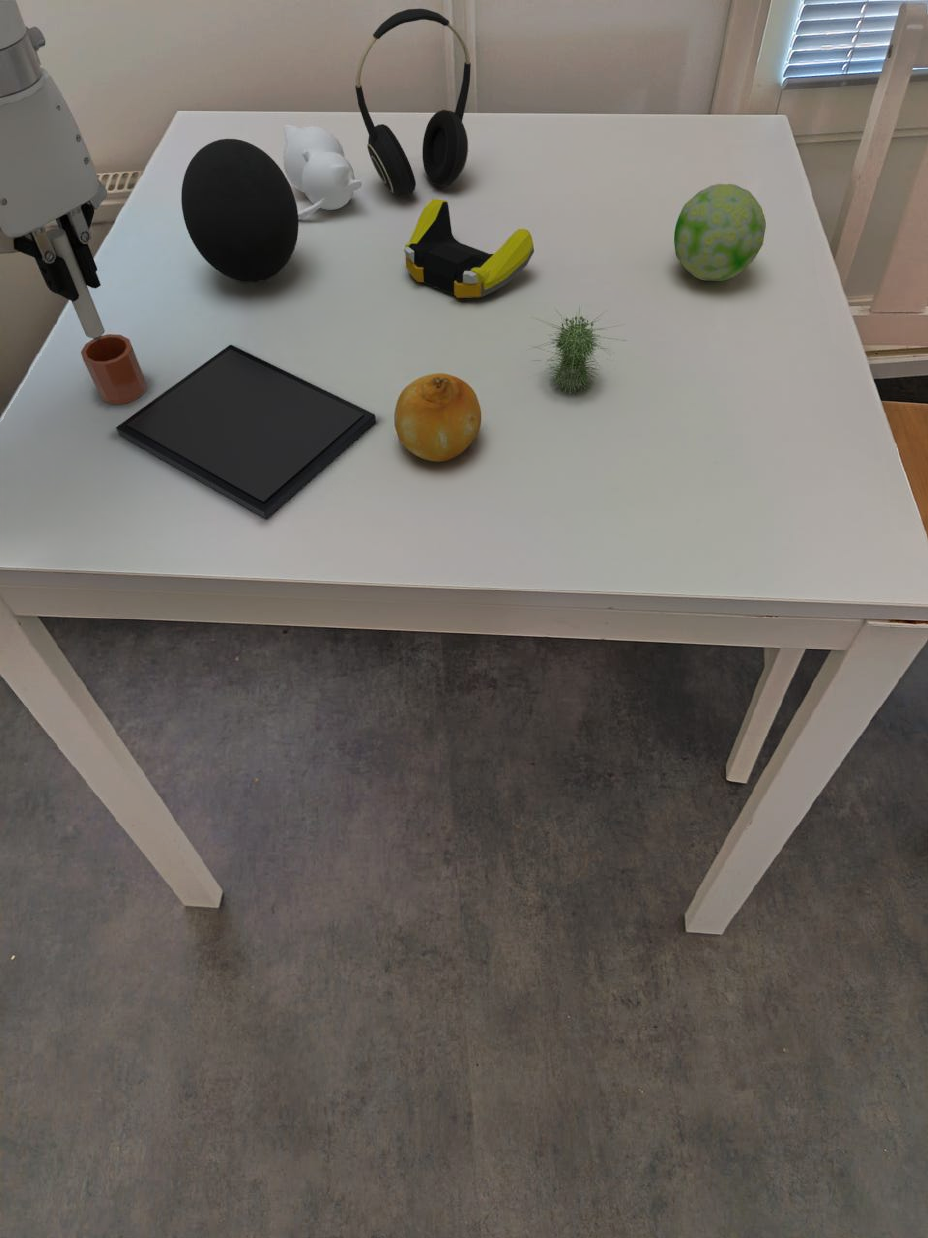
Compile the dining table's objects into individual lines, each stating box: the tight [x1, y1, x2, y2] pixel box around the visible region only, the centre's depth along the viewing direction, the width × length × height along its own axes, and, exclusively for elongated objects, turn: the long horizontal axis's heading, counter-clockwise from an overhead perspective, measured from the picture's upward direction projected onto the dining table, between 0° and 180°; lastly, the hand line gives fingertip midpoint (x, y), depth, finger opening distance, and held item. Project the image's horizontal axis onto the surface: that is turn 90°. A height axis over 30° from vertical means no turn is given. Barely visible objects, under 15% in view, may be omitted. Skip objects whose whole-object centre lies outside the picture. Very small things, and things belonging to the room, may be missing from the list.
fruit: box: [393, 372, 482, 462], centre depth 80 cm, size 8×8×8 cm
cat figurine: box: [282, 124, 363, 221], centre depth 107 cm, size 9×11×12 cm
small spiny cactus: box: [520, 307, 626, 395], centre depth 84 cm, size 12×12×8 cm
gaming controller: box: [403, 198, 535, 299], centre depth 97 cm, size 15×6×10 cm
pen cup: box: [80, 333, 148, 405], centre depth 86 cm, size 5×5×5 cm
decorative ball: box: [673, 183, 767, 282], centre depth 95 cm, size 10×10×10 cm
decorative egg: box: [180, 138, 299, 283], centre depth 94 cm, size 12×12×15 cm
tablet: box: [115, 344, 377, 520], centre depth 84 cm, size 16×20×1 cm
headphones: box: [354, 8, 472, 197], centre depth 103 cm, size 9×15×20 cm, turn 115°
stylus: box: [46, 227, 106, 340], centre depth 78 cm, size 2×2×11 cm
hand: (76, 287), depth 78 cm, fingers closed on stylus, 1 cm apart
